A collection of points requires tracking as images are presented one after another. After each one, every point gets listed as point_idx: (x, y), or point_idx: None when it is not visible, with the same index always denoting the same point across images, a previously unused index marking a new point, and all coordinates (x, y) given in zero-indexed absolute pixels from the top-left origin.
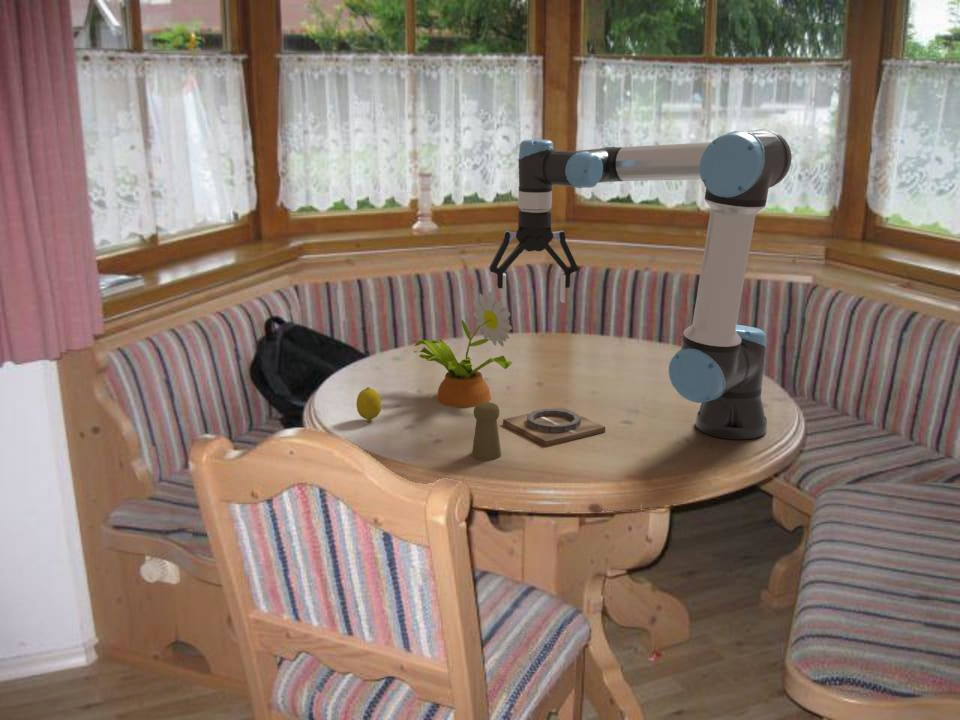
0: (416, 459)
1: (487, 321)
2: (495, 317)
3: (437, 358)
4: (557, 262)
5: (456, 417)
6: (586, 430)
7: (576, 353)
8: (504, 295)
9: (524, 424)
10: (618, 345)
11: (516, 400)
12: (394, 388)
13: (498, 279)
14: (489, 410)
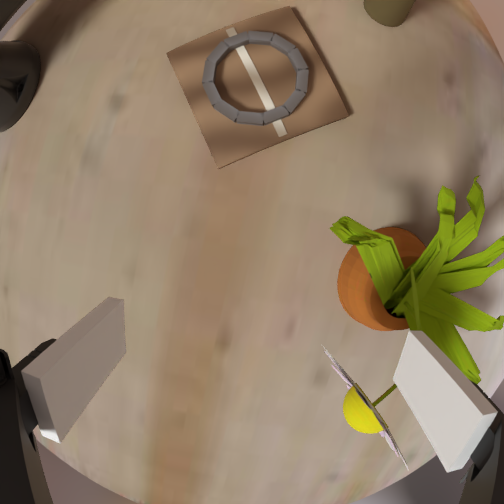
0: (468, 33)
1: (383, 395)
2: (367, 398)
3: (495, 248)
4: (19, 466)
5: (418, 175)
6: (205, 38)
7: (141, 454)
8: (432, 348)
9: (313, 80)
10: (85, 459)
11: (292, 251)
12: (464, 340)
13: (493, 405)
14: None
